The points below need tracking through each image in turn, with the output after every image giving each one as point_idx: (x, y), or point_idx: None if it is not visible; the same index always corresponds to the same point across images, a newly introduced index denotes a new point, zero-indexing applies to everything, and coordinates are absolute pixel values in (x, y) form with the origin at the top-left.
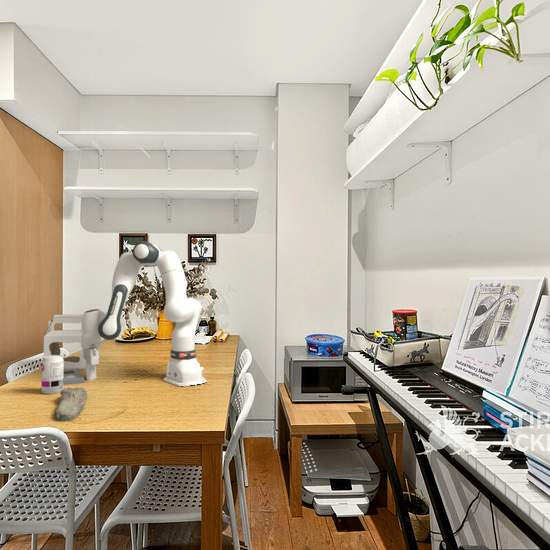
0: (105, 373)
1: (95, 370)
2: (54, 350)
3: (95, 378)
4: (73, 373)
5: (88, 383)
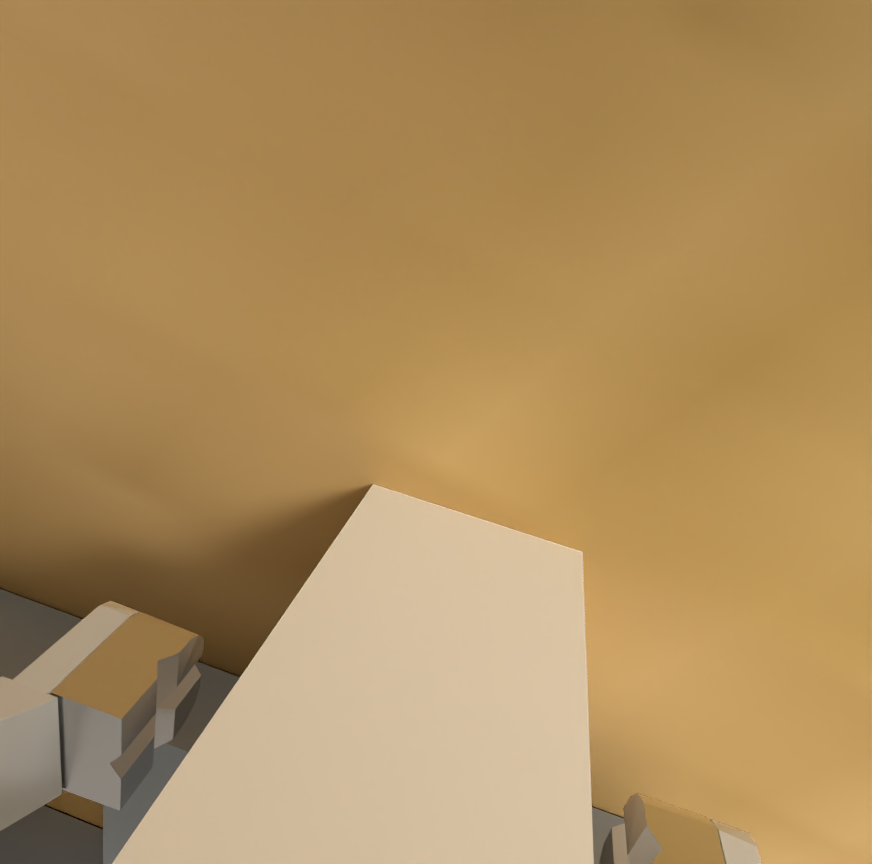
0: (148, 45)
1: (584, 762)
2: None
3: (578, 567)
4: (123, 814)
5: (860, 849)
